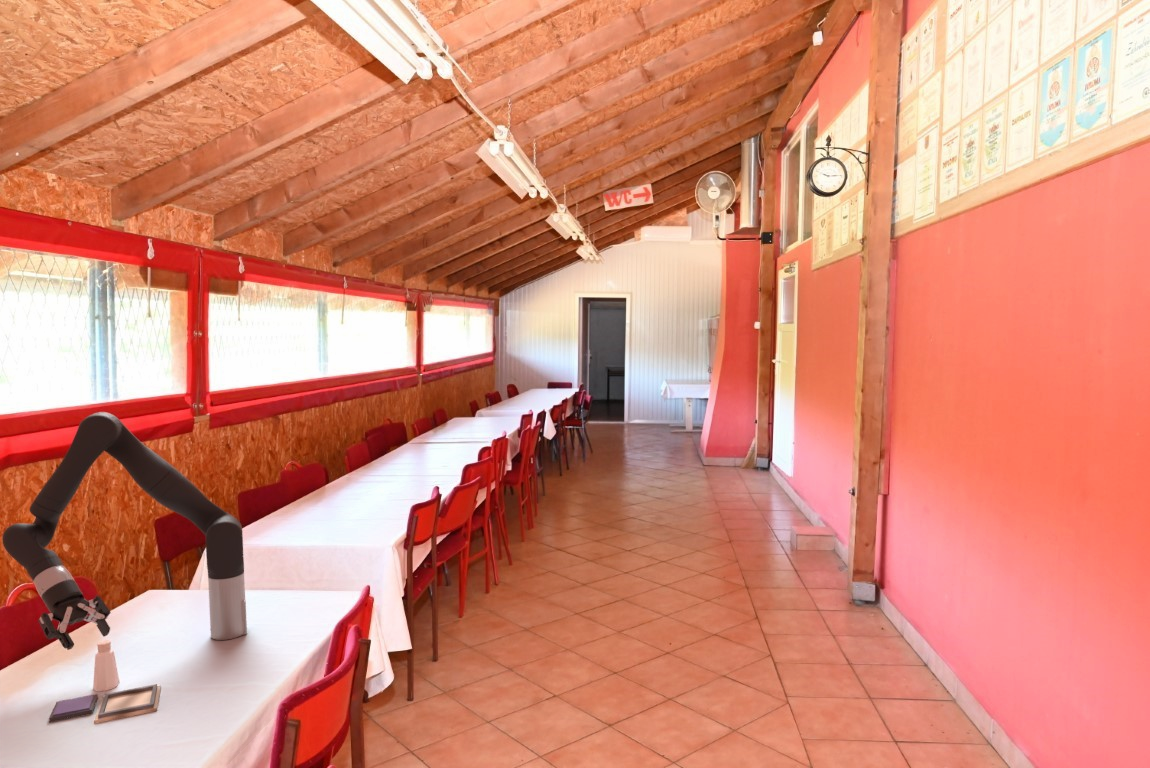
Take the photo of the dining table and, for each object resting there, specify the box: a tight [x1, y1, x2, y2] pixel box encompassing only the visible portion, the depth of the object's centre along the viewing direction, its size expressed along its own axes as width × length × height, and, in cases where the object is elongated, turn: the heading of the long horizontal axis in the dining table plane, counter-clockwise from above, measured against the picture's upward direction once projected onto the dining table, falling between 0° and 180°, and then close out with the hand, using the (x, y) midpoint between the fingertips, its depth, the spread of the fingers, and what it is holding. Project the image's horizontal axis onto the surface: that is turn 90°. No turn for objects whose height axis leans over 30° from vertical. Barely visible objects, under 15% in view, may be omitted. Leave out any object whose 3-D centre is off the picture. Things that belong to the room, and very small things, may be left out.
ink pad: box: [48, 693, 99, 723], centre depth 167 cm, size 8×8×1 cm
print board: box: [93, 683, 162, 724], centre depth 169 cm, size 12×12×1 cm
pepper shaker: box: [92, 639, 120, 692], centre depth 177 cm, size 5×5×11 cm
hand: (89, 640), depth 179 cm, fingers open, 8 cm apart
